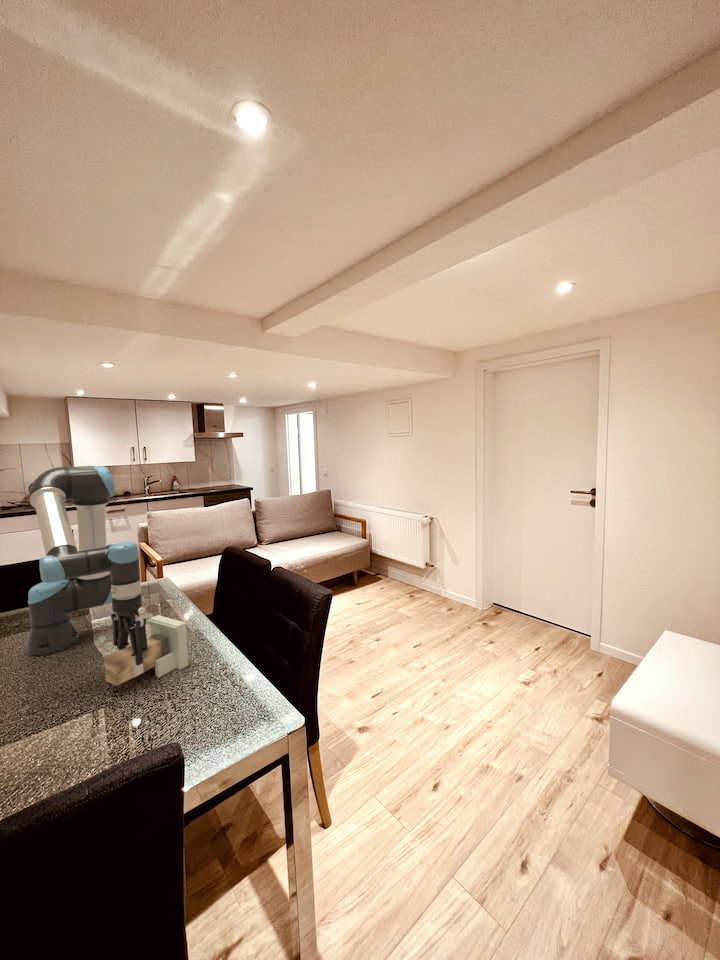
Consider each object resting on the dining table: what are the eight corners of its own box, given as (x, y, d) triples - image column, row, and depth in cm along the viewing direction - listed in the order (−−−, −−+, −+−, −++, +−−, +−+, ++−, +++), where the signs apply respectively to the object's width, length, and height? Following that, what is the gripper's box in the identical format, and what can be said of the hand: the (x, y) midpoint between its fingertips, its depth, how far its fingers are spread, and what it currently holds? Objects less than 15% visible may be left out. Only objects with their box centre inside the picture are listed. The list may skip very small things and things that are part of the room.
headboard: (134, 668, 128) (131, 625, 127) (160, 655, 136) (158, 615, 135) (162, 679, 121) (160, 634, 120) (188, 665, 129) (185, 622, 128)
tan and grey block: (117, 685, 113) (115, 661, 113) (105, 680, 116) (103, 656, 115) (168, 659, 127) (167, 637, 126) (156, 655, 130) (155, 633, 129)
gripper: (95, 595, 119) (101, 670, 121) (133, 605, 110) (138, 686, 112) (120, 587, 126) (126, 659, 127) (158, 596, 117) (163, 673, 119)
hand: (132, 671), depth 120 cm, fingers closed on tan and grey block, 5 cm apart
